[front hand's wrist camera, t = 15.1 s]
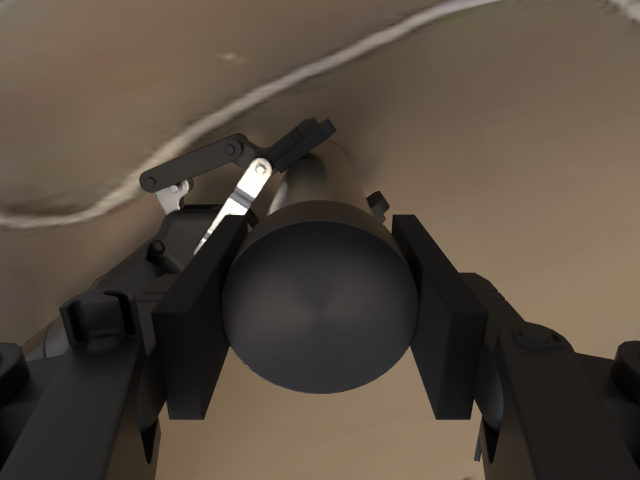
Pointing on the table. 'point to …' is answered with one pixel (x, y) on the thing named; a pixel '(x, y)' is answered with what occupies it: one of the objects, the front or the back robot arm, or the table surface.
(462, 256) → the table surface
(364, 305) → the lid
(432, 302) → the front robot arm
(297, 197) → the steel thermos bottle
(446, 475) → the table surface
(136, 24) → the table surface
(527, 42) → the table surface
